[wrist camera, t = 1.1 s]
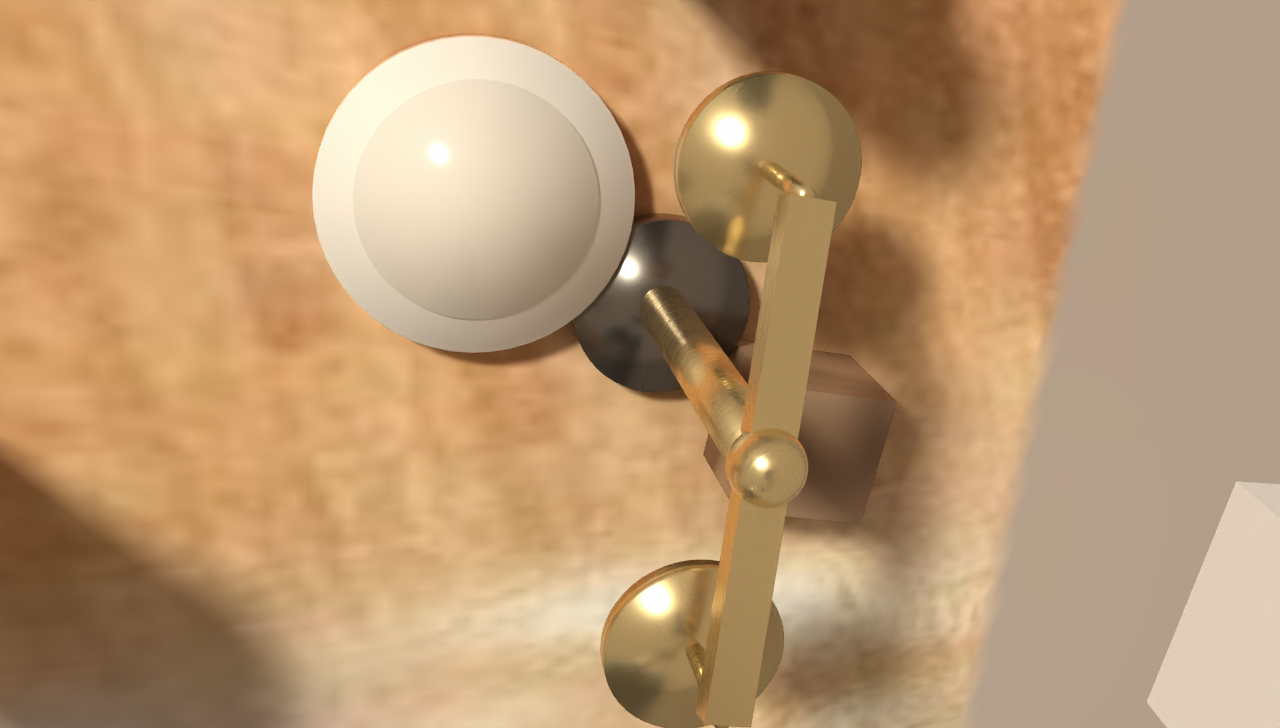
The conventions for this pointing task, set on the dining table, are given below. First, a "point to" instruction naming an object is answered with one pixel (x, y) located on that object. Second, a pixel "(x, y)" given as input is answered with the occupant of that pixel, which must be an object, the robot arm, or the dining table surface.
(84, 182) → the dining table surface
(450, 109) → the dish
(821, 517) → the walnut block
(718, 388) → the balance
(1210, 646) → the robot arm
